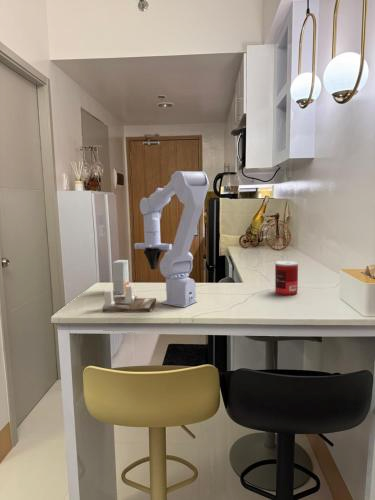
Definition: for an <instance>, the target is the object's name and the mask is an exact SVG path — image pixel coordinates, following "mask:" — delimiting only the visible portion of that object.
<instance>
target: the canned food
mask: <svg viewBox="0 0 375 500" xmlns="http://www.w3.org/2000/svg"><path fill="white" fill-rule="evenodd" d="M274 266H275V270H274V272H275V274H274V275H275V276H274V277H275V279H274V280H275V281H274V282H275V284H274V287H275V294H277V295H280V296H294V295H297V294H298V291H299V290H298V288H299V286H298V281H299V278H298V276H299V262H298V261H293V260H277V261H276V262H275V265H274Z"/></svg>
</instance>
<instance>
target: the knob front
mask: <svg viewBox="0 0 375 500" xmlns="http://www.w3.org/2000/svg"><path fill="white" fill-rule="evenodd" d="M113 296H114V289H106V290H105V291H104V303H103V306H114V304H115V302H114V300H113Z"/></svg>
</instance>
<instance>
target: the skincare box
mask: <svg viewBox="0 0 375 500" xmlns="http://www.w3.org/2000/svg"><path fill="white" fill-rule="evenodd" d="M111 267H112V268H111V269H112V285H113V289H112V290H113V295H125V294H126V290H125V286H126V285H130V275H129V274H130V272H129V260H128V259H118V260H114V261H113V262H112V263H111Z"/></svg>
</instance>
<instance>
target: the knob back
mask: <svg viewBox="0 0 375 500" xmlns="http://www.w3.org/2000/svg"><path fill="white" fill-rule="evenodd" d="M125 290H126V293H125V296H126V298H125V300H134V299H135V295H134V284H129V285H126V286H125Z"/></svg>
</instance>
